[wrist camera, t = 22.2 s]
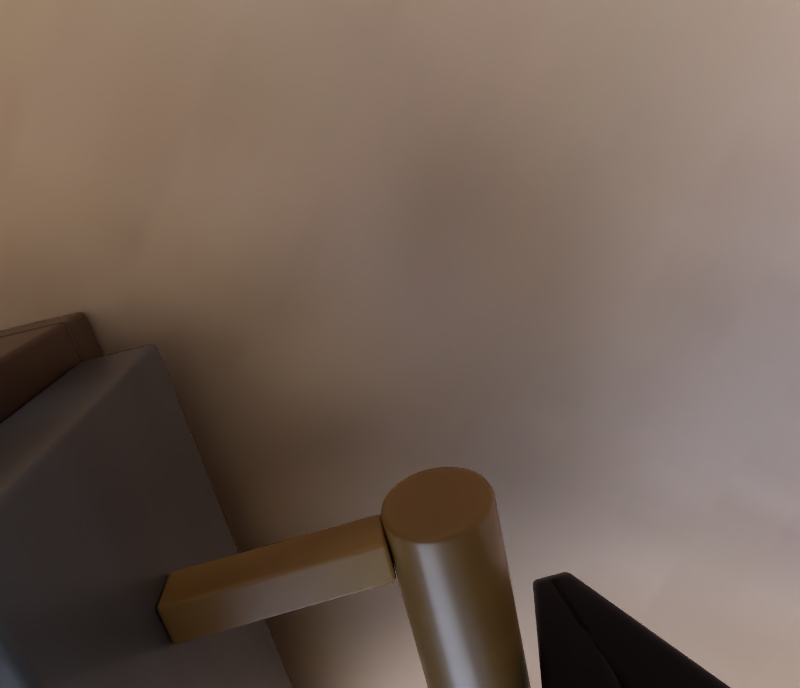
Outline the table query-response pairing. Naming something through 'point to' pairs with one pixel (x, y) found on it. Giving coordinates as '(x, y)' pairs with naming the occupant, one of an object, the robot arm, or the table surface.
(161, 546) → the drawer
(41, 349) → the cabinet
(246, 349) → the table surface
